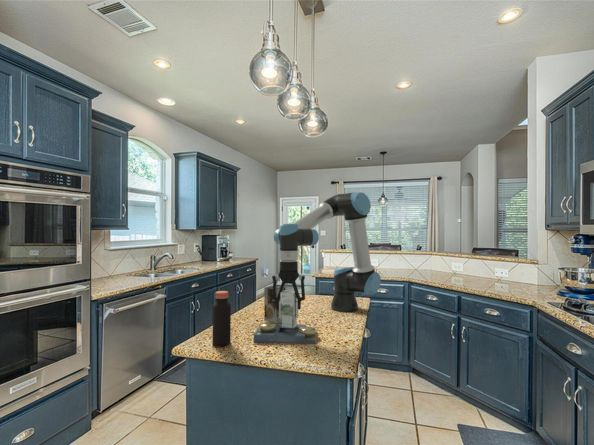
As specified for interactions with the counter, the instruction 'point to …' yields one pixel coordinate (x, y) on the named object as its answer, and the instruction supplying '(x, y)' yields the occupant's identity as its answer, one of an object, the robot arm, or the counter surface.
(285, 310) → the syrup box
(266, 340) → the knobbed grey frame
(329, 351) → the counter surface
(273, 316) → the coffee box
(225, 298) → the bottle
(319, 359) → the counter surface
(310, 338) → the grey base plate
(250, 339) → the counter surface
